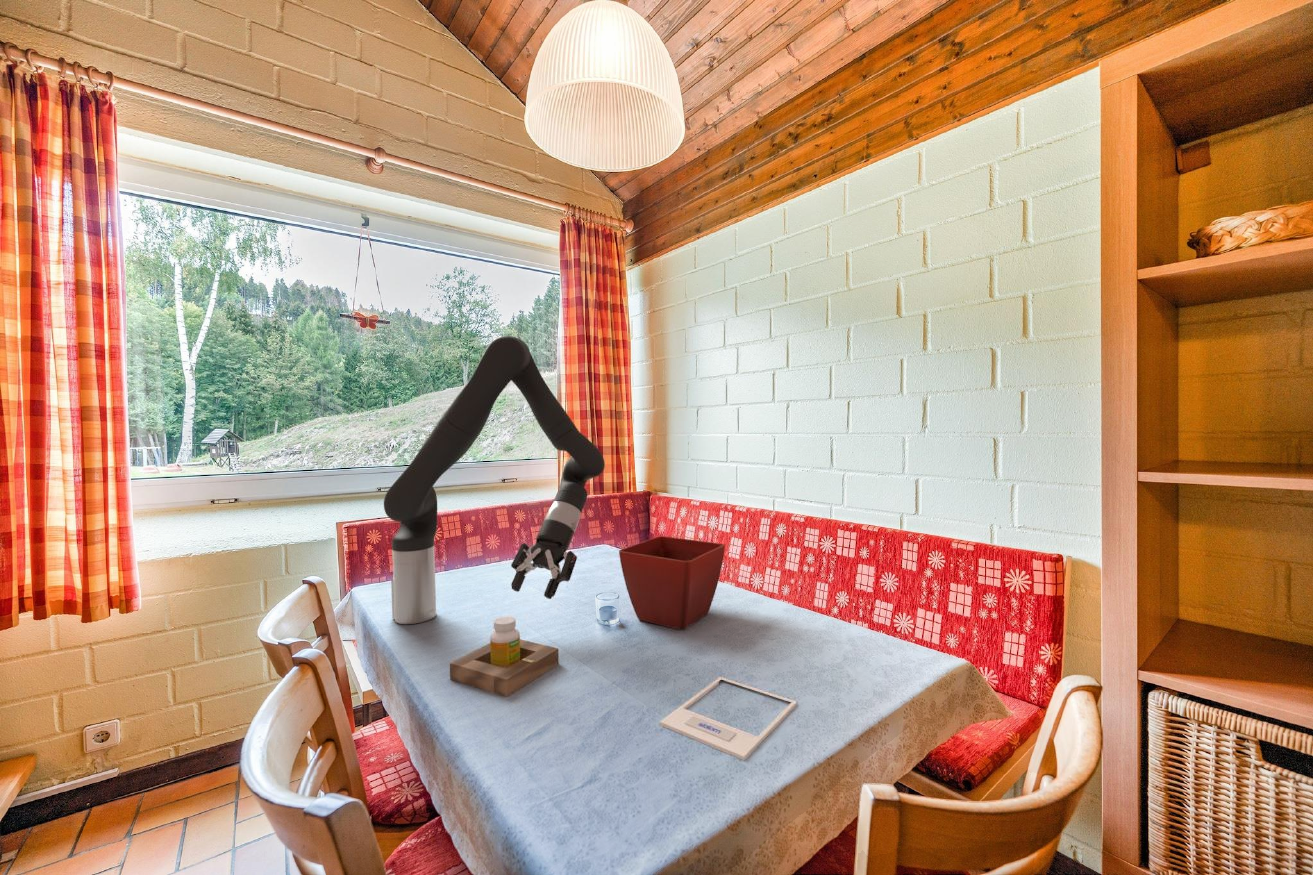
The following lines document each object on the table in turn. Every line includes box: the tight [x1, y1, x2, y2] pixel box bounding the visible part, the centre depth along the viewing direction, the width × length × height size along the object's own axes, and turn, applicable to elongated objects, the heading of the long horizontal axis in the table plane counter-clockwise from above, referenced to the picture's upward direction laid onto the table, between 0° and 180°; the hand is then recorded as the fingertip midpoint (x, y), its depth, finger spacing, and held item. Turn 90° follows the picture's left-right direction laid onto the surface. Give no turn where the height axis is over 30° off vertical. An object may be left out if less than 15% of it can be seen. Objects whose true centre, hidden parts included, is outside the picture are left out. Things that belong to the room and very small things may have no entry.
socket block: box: [449, 639, 560, 697], centre depth 102 cm, size 14×14×3 cm
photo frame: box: [659, 676, 798, 761], centre depth 86 cm, size 15×1×18 cm
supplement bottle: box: [489, 616, 521, 669], centre depth 102 cm, size 5×5×10 cm
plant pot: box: [618, 535, 726, 631], centre depth 129 cm, size 19×19×17 cm
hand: (530, 593), depth 115 cm, fingers open, 8 cm apart
